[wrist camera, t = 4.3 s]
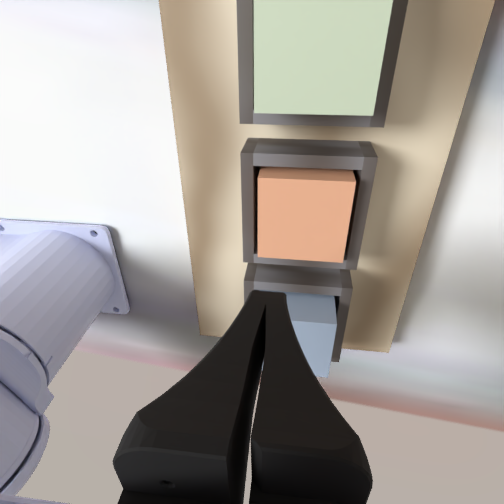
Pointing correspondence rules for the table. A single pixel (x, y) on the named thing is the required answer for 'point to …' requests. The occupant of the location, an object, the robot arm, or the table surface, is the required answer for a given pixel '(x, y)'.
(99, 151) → the table surface
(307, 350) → the slate key
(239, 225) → the keypad base
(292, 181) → the terracotta key
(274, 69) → the sage key
